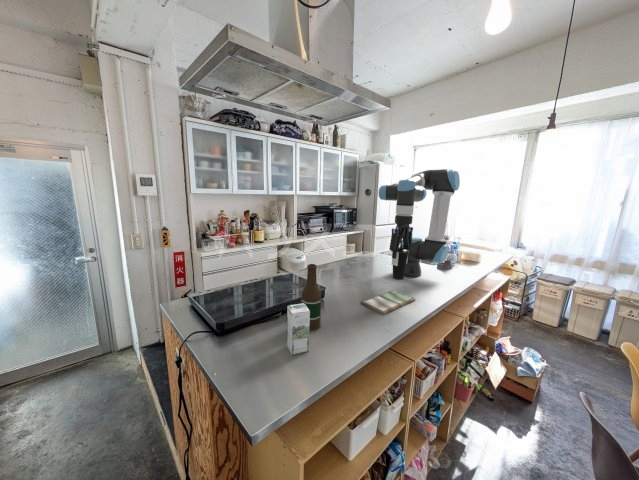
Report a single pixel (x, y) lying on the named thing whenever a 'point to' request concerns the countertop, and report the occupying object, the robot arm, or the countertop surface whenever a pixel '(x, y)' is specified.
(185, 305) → the countertop surface
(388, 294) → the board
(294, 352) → the syrup box
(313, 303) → the beer bottle
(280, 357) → the countertop surface
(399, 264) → the drinking cup
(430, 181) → the robot arm
